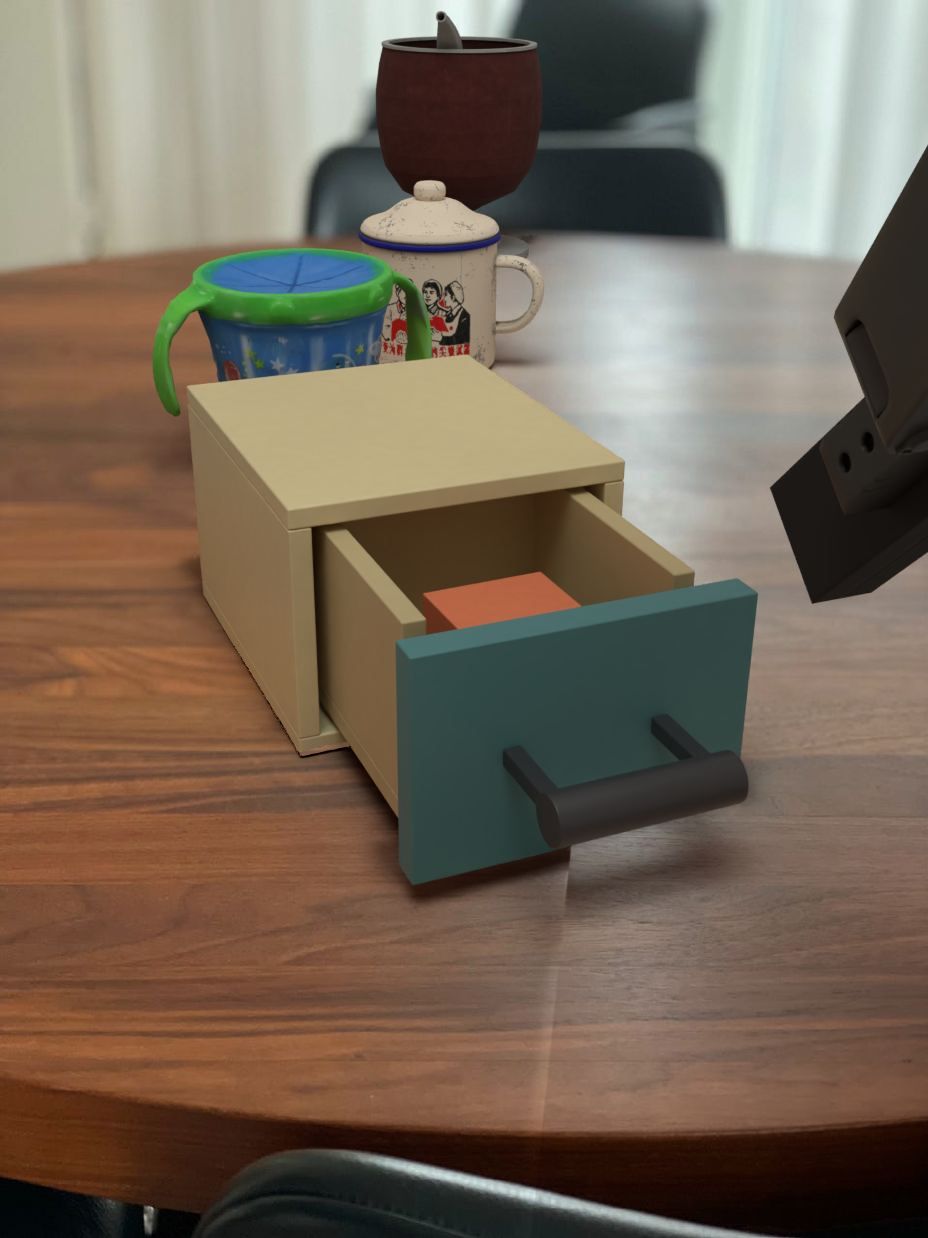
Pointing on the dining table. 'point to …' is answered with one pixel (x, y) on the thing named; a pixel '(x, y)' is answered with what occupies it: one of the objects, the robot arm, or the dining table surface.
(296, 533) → the cabinet
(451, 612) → the block
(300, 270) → the snack cup
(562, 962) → the dining table surface
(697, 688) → the drawer
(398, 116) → the mate gourd
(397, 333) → the teacup with lid
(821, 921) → the dining table surface
